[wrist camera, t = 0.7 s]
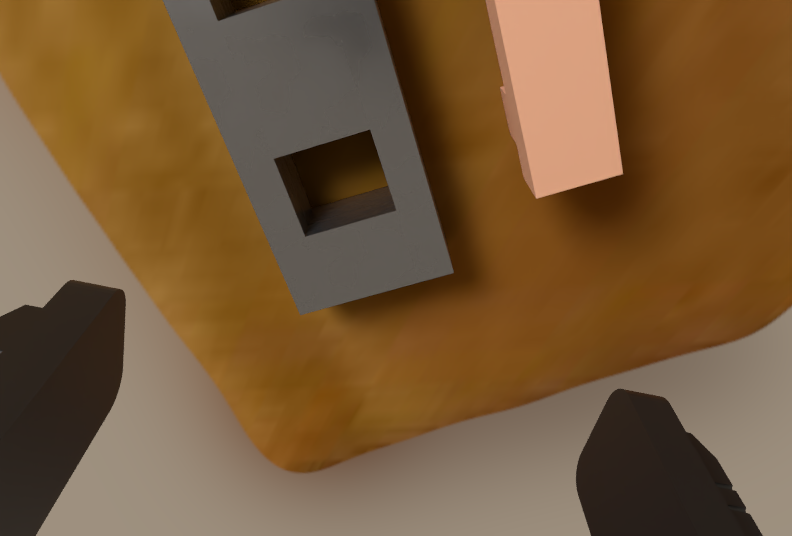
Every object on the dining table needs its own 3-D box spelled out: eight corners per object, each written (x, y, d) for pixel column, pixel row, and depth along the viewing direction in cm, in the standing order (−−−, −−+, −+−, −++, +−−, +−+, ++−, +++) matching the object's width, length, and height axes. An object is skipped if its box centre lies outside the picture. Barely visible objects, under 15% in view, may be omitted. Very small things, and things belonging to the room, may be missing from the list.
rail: (302, -254, 25) (292, -280, 21) (446, 242, 34) (453, 272, 31) (112, -182, 25) (76, -198, 22) (306, 281, 35) (300, 315, 32)
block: (522, -201, 26) (565, -240, 20) (578, 130, 32) (623, 173, 26) (435, -171, 26) (452, -199, 20) (507, 150, 32) (536, 198, 26)
